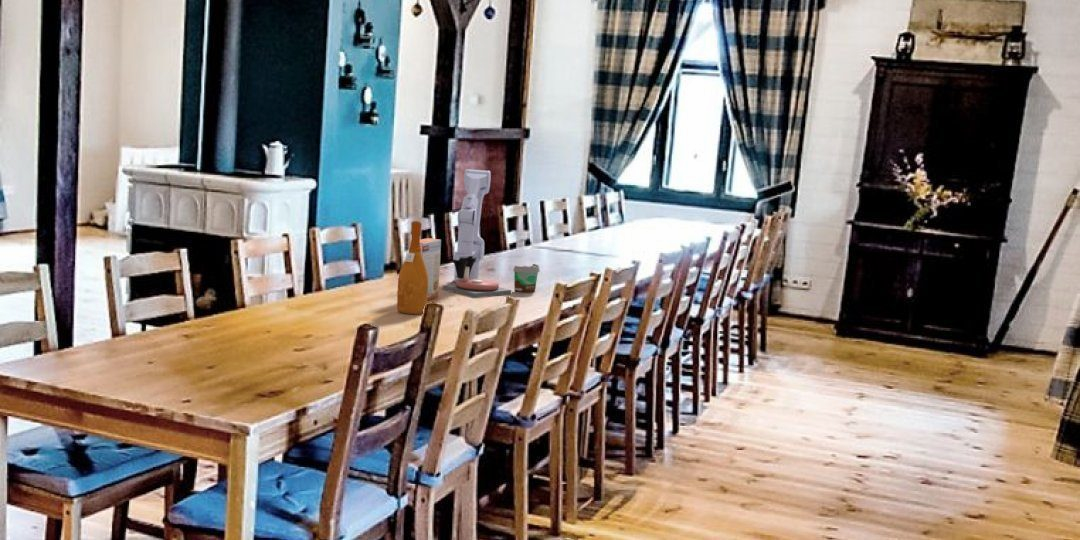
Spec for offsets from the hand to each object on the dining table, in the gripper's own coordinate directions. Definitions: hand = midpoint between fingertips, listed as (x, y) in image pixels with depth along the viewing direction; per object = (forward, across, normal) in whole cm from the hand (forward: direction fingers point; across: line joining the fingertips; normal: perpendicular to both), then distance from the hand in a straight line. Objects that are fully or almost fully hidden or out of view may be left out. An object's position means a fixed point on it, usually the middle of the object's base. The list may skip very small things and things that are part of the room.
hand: (463, 277), depth 407 cm
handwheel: (+3, 0, +6) cm, 6 cm away
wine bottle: (+5, +52, +7) cm, 52 cm away
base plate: (+5, 0, +6) cm, 7 cm away
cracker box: (+5, +28, -1) cm, 29 cm away
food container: (+5, -14, +21) cm, 26 cm away
